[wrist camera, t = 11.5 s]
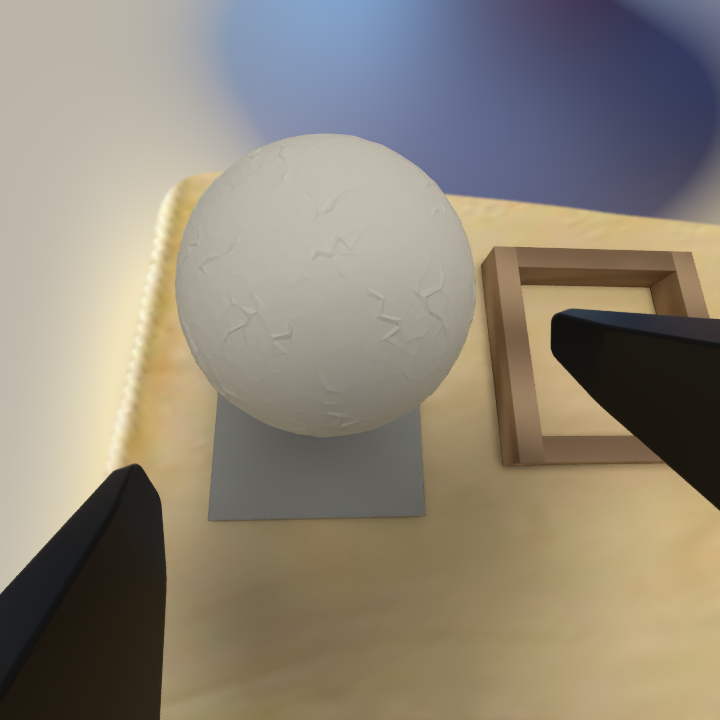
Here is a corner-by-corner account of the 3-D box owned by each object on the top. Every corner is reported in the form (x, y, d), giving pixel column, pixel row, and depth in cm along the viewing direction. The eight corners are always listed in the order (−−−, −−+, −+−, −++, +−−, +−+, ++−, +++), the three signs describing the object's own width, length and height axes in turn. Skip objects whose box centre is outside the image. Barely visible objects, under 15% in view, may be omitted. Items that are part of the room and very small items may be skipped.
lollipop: (422, 399, 22) (611, 231, 8) (315, 497, 20) (308, 511, 6) (330, 301, 23) (349, -4, 9) (221, 385, 21) (27, 172, 7)
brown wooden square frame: (712, 462, 23) (747, 459, 21) (503, 465, 22) (520, 462, 20) (664, 269, 26) (691, 252, 24) (481, 265, 25) (494, 246, 23)
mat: (422, 515, 21) (425, 515, 20) (211, 519, 20) (207, 520, 20) (410, 289, 25) (412, 285, 24) (229, 286, 24) (227, 281, 23)
